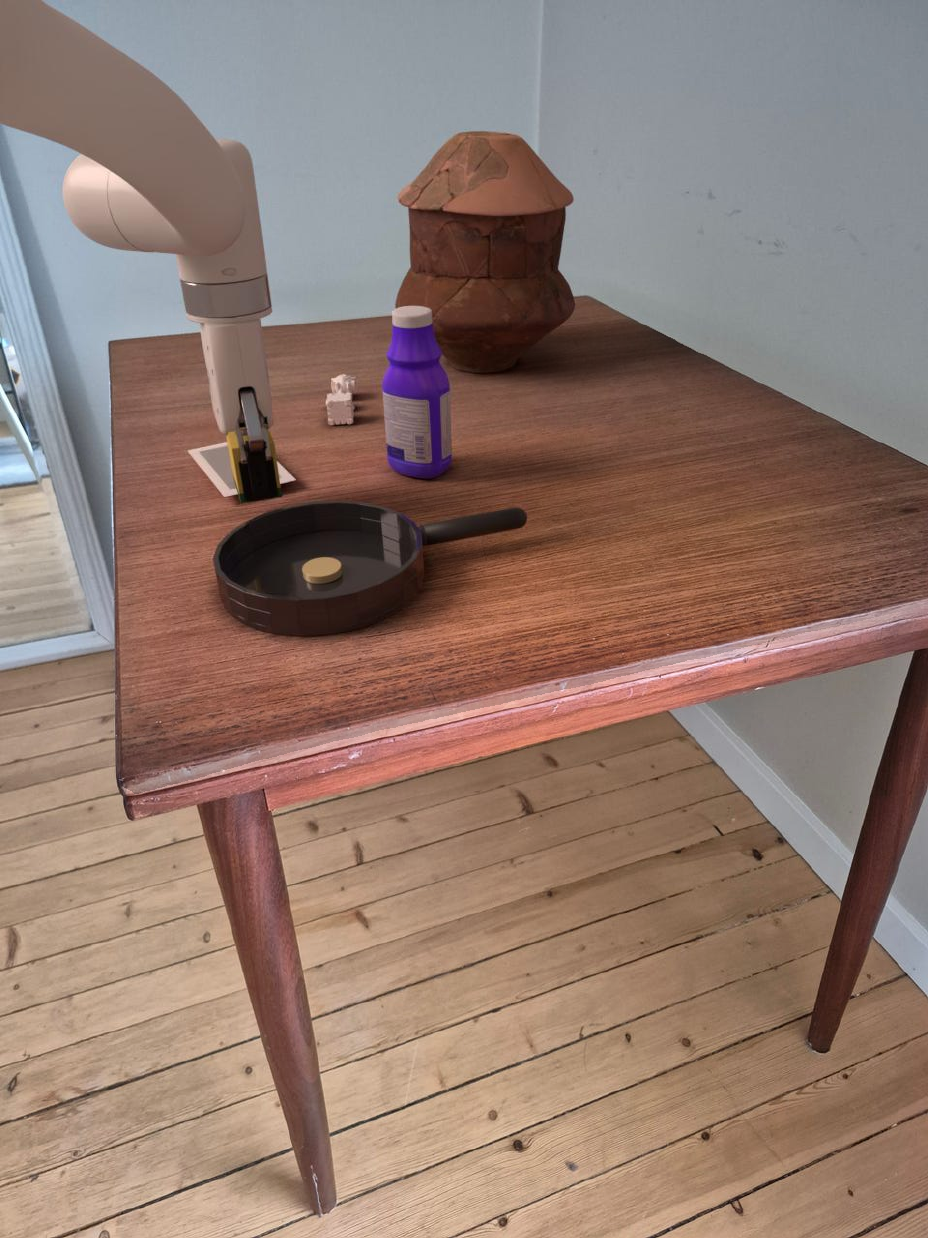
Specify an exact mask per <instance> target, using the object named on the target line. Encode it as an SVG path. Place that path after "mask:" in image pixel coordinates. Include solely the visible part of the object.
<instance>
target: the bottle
mask: <svg viewBox="0 0 928 1238" xmlns="http://www.w3.org/2000/svg"><path fill="white" fill-rule="evenodd" d="M391 318H392V335H391V340H390V344H389V347H388V349H387V351H386V358H387V360H388V361H389V364H388V367H387V368H386V370H385V373H384V375H383V378H382V383H381V384H382V386H381V387H382V404H383V416H384V428H385V430H384V431H385V441H386V443H385V444H386V457H387V461H388V464H389V467H390V468H391V469H392V470H393V471H394V472H396V473H398V474H400V475H404V476H408V477H412V478H417V479H427V480H429V479H434V478H437V477H439V476H440V475H442V474H444V473H445V472H447V471H448V469H449V468H450V466H451V462H452V458H453V454H452V453H453V443H452V440H453V439H452V411H451V410H452V409H451V407H452V406H451V405H452V404H451V403H452V402H451V385H450V380H449V376H448V374H447V372H446V370H445V368H444V367H443V365H442V364H441V361H440V360H441V357H442V356H443V355H442V351H441V349H440V348H439V346H438V344H437V342H436V340H435V336H434V332H433V320H432V310H431V309H430V308H427V307H423V306H404V307H399V308H396V309H395V308H394V309H393V310H392V311H391Z"/></svg>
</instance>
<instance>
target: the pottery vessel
mask: <svg viewBox="0 0 928 1238" xmlns="http://www.w3.org/2000/svg"><path fill="white" fill-rule="evenodd" d="M396 198H397V201H398V203H399V204H400V205H401V206H403V207H405V208H408V209H407V211H408V212H407V213H408V222H409V223H408V225H409V260H410V261H409V262H410V268H409V269H408V270H407V272H406V274H405V276H404V278H403V280H402V282H401V284H400V287H399V289H398V292H397V295H396V299H395V306H394V309H396V308H399V307H404V306H423V307H427V308H430V309H431V310H432V320H433V332H434V336H435V340H436V342H437V344H438V346H439V348H440V349H441V351H442V355H441V356H442V357H444V358H445V359H446V360H447V362H448V363H449V365H450V366H451V367H452V368H453V369H455V370H458V371H462V372H466V373H471V374H472V373H473V374H485V373H497V372H502V371H506V370H508V369H510V368H512V367H514V366H515V365H516V364H517V361H518V358H519V357H521V355H523V354H524V353H525V352H526V351H527V350H529V349H531V348H532V347H533V346H534V345H536V344H537V343H538V342H539V341H541V340H542V339H544V338H545V336H547V335H549V334H550V333H551V332H553V331H554V330H556V329H557V328H559V327H560V326H561V325H563V324H564V323H566V322H567V321H568V320H569V319H570V318H571V316H572V315H573V314H574V311H575V310H576V302H575V297H574V294H573V291H572V289H571V286H570V283H569V282H568V281H567V279H566V278H565V275H563V274H562V272H561V271H560V269H559V265H560V260H561V254H562V246H563V240H564V233H565V225H566V218H567V212H566V211H567V210H566V209H567V208H566V207H569V206H571V205H572V204H573V202H574V200H575V199H574V195H573V193H572V192H571V191H570V189H569V188H568V187H566V185H564V183H562V182H561V181H560V180H559V179H558V178H557V176H556V175H555V174H554V173H553V172H552V171H551V169H549V167H548V166H547V165H546V163H545V162H544V161H543V160H542V159H541V157H539V155H538V154H537V153H536V152H535V150H534V149H533V148H532V147H531V146H530V144H529V143H528V142H527V141H525V139H524V138H522V137H521V136H520V135H517V134H514V133H508V132H498V131H486V130H475V131H474V130H473V131H471V130H470V131H462V132H457V133H455V134H454V135H453V136H452V137H450V138H449V139H447V141H446V142H445V143H444V144H443V145H441V146H440V147H439V148H438V150H437V151H436V152H435V153H434V154H433V156H432V157H431V159H430V161H428V163H427V165H426V166H425V167H424V168H423V169H422V171H421V172H420V173H419V174H418V175H417V176H416V177H415V178H414V179H413V180H412V181H411V182H410V183H409V184H407V185H406V186H404V187H403V188H402V189H401V190H400V191H399V192H398V194H397V197H396Z"/></svg>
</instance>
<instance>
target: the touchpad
mask: <svg viewBox="0 0 928 1238" xmlns="http://www.w3.org/2000/svg"><path fill="white" fill-rule="evenodd" d="M186 452H187V453H188V454H189V455H190V456H191V458H192V459H193V460H194V461H195V462H196V464H197V465H198V466H199V467H200V468H201V470H202V471H203V473H205V475H206V476H207V477H208V478H209V481H211V483H212V484H213V486H215V487H216V488H217V490H218V491H219V493H220V494H221V495H222V497H224V498H227V497H232V496H236V495H238V493H237V490H236V486H235V483H234V478H233V472H232V467H231V461H230V455H229V449H228V443H227V441H224V442H221V443H215V444H211V445H206V446H202V447H197V448H192V449H188V450H186ZM277 465H278V472H279V479H280V485H282V484H286V483H290V482H294V481H297V479H296V478H295V477H294V476H293V475H292V474H291V473H290V472H289V471H288V470H287V469H286V468H285V467H284V466H283V465H282V464H281V463H280V462H279V461H278V460H277Z"/></svg>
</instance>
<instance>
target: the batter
mask: <svg viewBox="0 0 928 1238" xmlns="http://www.w3.org/2000/svg"><path fill="white" fill-rule="evenodd" d="M302 573H303V578H304V579H305V580H306V581H307V582H310V583H314V584H325V583H330V582H333V581H335V580H337V579H338V578H340V577H341V575H342V564H341V562H340V561H339V560H337V559H335V558H330V557H321V558H315V559H312V560H310V561H308V562H306V563H305V564H304V565H303V567H302Z"/></svg>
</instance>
